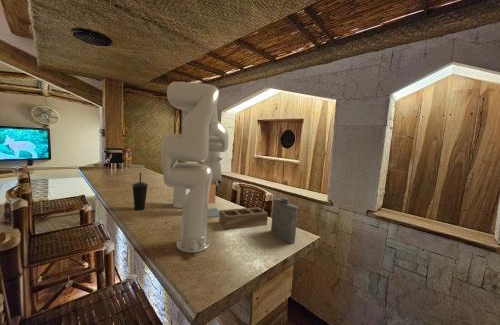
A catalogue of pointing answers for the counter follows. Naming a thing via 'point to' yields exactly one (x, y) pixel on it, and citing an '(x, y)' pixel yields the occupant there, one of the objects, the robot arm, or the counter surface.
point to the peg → (212, 193)
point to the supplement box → (179, 196)
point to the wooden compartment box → (242, 218)
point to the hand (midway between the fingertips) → (210, 192)
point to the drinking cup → (139, 195)
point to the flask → (284, 220)
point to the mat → (213, 213)
